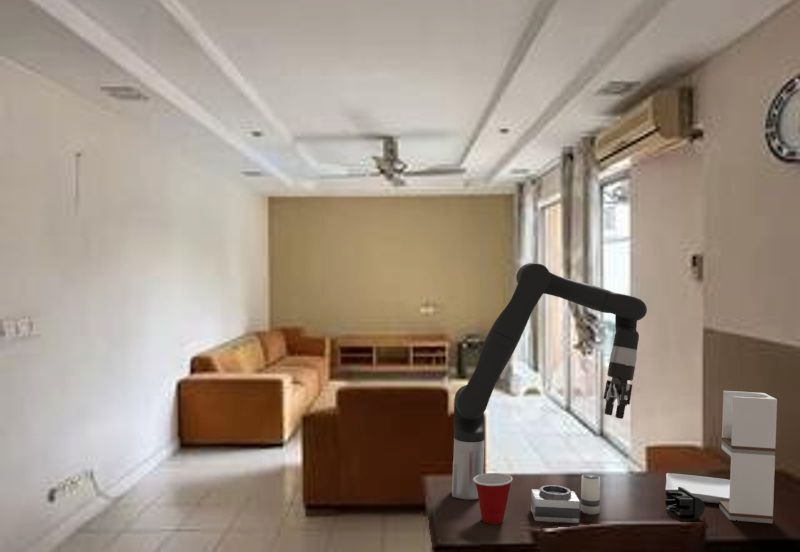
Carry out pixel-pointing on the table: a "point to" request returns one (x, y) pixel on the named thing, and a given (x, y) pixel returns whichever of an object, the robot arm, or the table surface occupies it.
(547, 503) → the banded square pedestal
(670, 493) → the end cap
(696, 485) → the salad plate
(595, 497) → the lens barrel
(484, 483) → the plastic cup
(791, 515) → the table surface
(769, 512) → the white shelf tower
